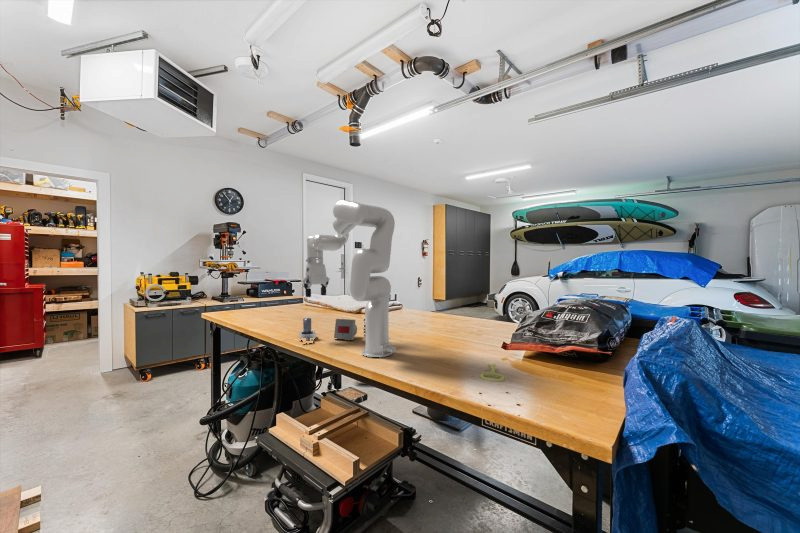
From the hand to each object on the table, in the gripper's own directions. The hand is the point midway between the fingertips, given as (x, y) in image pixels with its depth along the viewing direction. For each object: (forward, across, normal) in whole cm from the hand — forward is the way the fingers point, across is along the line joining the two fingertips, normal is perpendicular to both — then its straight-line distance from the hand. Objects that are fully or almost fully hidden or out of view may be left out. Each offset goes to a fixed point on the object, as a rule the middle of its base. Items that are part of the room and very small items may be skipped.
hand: (316, 296), depth 154 cm
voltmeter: (+22, +11, -19) cm, 31 cm away
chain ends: (+21, -3, +4) cm, 21 cm away
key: (+24, -4, -88) cm, 91 cm away
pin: (+21, -4, +3) cm, 21 cm away
